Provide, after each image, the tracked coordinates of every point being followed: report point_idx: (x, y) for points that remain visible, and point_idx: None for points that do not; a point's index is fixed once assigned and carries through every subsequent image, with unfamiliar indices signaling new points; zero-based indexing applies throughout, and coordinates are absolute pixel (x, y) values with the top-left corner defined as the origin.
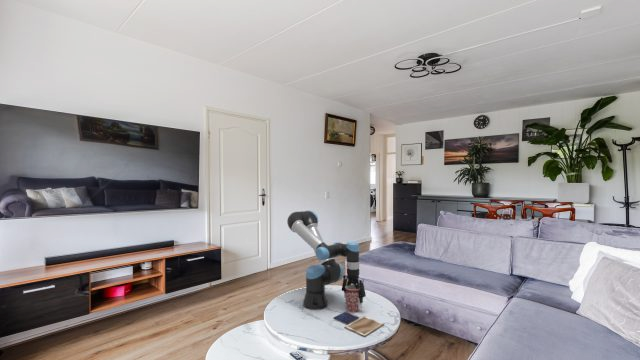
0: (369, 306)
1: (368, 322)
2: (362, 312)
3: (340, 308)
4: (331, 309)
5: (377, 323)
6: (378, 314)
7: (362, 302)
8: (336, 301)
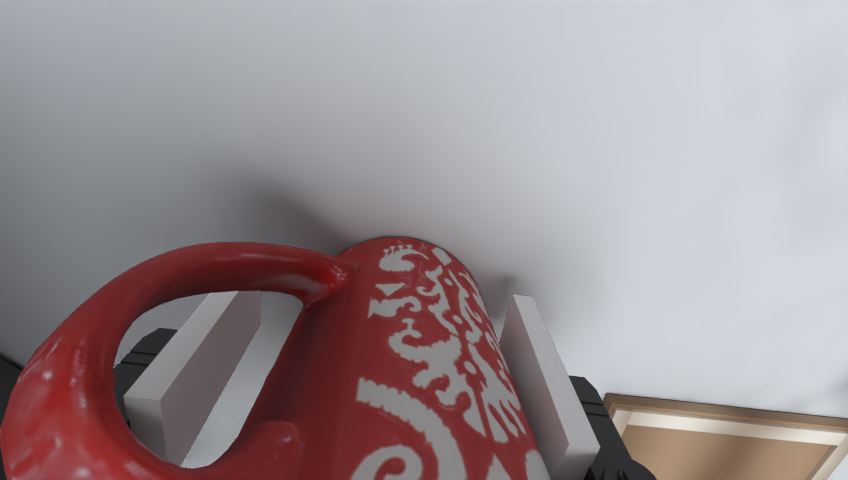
0: (570, 55)
1: (696, 476)
2: (545, 306)
3: (244, 366)
4: None
5: (792, 449)
6: (769, 237)
7: (586, 386)
8: (7, 217)
